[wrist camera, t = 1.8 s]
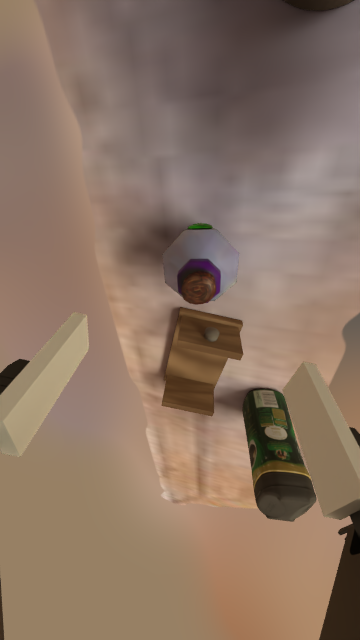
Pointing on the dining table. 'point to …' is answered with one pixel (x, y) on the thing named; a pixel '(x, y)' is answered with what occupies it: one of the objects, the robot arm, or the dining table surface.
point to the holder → (199, 359)
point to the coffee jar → (276, 457)
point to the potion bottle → (200, 264)
